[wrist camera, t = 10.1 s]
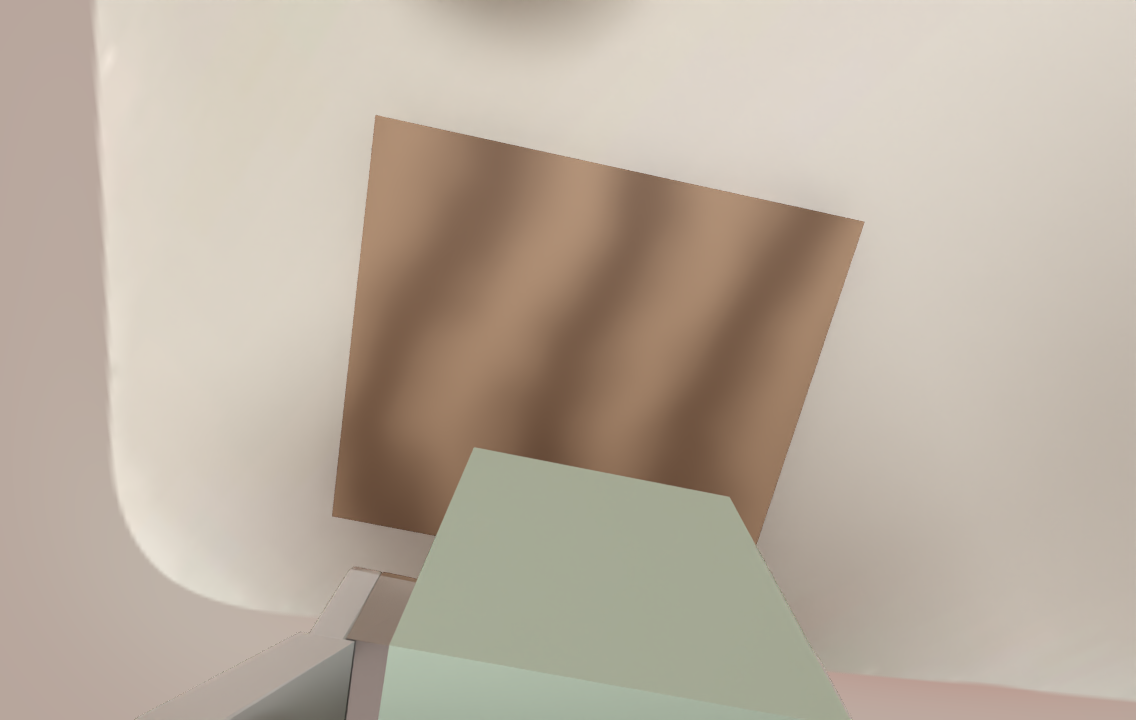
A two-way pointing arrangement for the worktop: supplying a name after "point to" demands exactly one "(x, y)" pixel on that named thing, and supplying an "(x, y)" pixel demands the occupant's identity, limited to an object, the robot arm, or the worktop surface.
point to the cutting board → (574, 325)
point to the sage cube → (596, 607)
